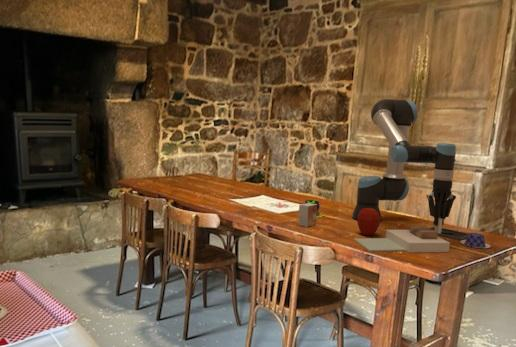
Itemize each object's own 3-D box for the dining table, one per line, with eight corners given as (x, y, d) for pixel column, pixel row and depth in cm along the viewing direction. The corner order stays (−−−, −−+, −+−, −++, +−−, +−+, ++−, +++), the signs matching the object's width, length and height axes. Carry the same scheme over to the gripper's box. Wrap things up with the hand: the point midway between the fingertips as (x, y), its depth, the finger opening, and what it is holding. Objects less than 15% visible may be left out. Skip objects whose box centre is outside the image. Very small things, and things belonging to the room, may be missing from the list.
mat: (353, 239, 177) (354, 238, 177) (387, 239, 180) (387, 238, 180) (369, 251, 161) (369, 250, 161) (406, 251, 164) (406, 249, 164)
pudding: (479, 251, 169) (481, 239, 168) (454, 243, 179) (455, 231, 178) (496, 247, 175) (497, 236, 174) (470, 240, 185) (471, 229, 184)
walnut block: (409, 232, 178) (409, 226, 177) (423, 232, 179) (424, 226, 178) (421, 239, 168) (422, 232, 167) (437, 239, 169) (437, 232, 169)
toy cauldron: (293, 212, 228) (294, 193, 227) (317, 211, 233) (318, 192, 232) (304, 218, 214) (305, 198, 213) (329, 217, 219) (330, 197, 217)
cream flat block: (385, 238, 182) (386, 229, 181) (421, 237, 185) (422, 229, 184) (408, 252, 162) (409, 243, 162) (448, 251, 165) (449, 242, 164)
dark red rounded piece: (375, 239, 180) (378, 208, 178) (353, 235, 184) (355, 205, 183) (380, 234, 189) (383, 205, 187) (359, 230, 193) (361, 202, 192)
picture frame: (422, 233, 195) (461, 242, 182) (423, 229, 195) (462, 238, 182) (434, 229, 204) (472, 237, 191) (434, 225, 204) (472, 233, 191)
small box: (307, 227, 195) (308, 206, 194) (297, 225, 199) (299, 204, 198) (316, 224, 201) (317, 204, 200) (307, 222, 205) (308, 202, 204)
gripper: (434, 180, 166) (429, 235, 169) (462, 180, 169) (456, 234, 172) (424, 177, 174) (419, 230, 177) (451, 178, 176) (445, 230, 179)
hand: (437, 232), depth 174 cm, fingers closed
